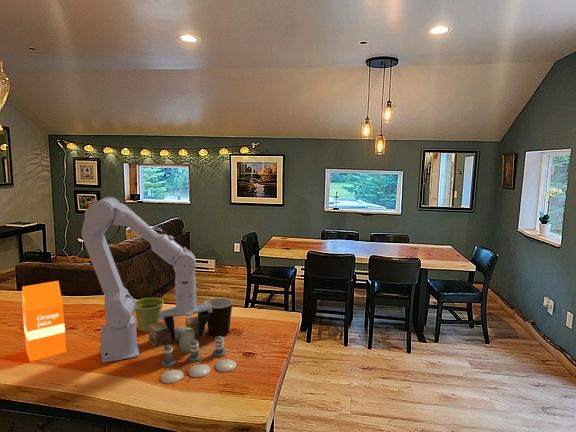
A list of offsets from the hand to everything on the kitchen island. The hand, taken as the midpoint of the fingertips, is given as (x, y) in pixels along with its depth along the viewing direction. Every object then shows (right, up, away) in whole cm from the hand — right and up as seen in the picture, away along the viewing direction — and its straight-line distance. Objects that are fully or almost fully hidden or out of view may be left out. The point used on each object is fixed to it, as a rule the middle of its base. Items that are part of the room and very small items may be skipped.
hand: (187, 338), depth 114 cm
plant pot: (-16, -1, +13) cm, 20 cm away
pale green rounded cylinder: (0, -3, 0) cm, 3 cm away
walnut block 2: (0, -2, +9) cm, 9 cm away
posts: (+3, -4, -5) cm, 7 cm away
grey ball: (-4, -2, +6) cm, 7 cm away
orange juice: (-39, -3, -3) cm, 39 cm away
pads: (+6, -5, -11) cm, 14 cm away
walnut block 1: (-9, -2, +5) cm, 10 cm away
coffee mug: (+8, -2, +13) cm, 15 cm away
